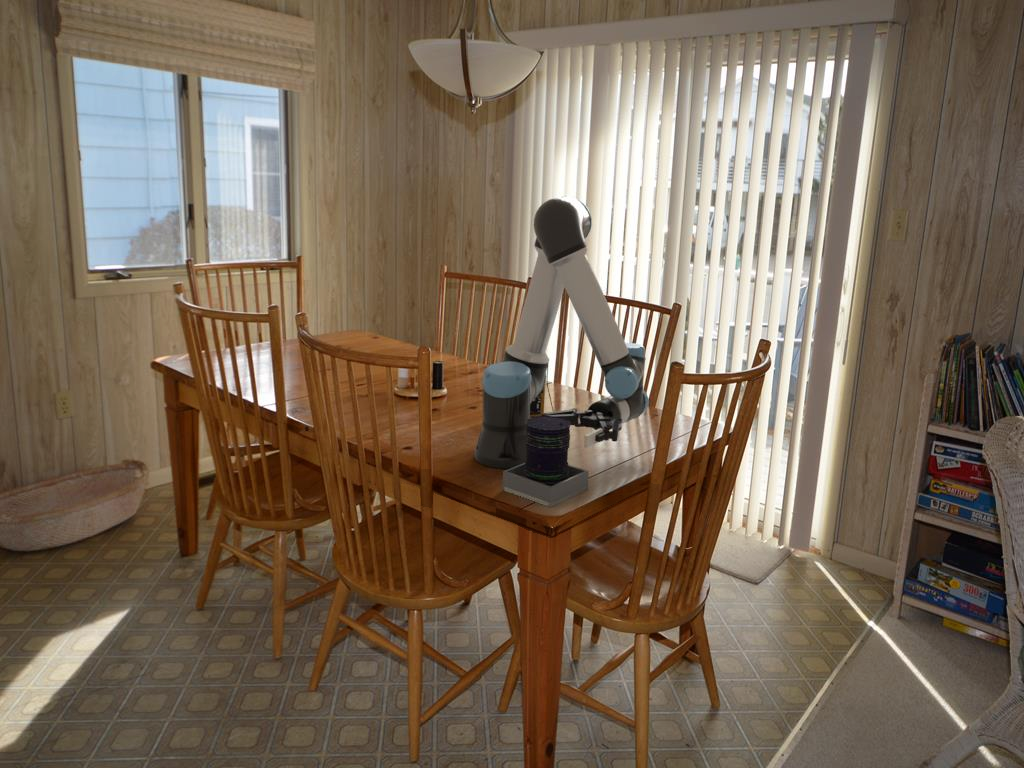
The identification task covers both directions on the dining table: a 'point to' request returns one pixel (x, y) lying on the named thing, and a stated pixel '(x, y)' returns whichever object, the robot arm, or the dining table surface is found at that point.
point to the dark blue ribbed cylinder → (547, 449)
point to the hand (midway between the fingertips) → (559, 435)
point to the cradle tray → (545, 486)
